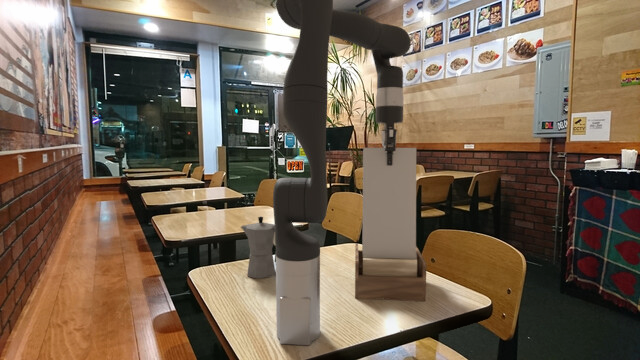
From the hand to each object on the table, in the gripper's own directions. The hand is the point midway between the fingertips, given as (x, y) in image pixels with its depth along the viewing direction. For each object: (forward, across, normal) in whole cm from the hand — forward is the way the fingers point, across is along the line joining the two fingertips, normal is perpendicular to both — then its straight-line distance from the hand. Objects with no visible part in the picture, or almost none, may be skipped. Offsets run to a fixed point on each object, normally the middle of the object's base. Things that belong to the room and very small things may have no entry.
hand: (388, 166), depth 101 cm
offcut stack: (+34, -8, 0) cm, 35 cm away
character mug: (+34, +14, +33) cm, 49 cm away
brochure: (+25, -4, 0) cm, 25 cm away
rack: (+34, -3, 0) cm, 34 cm away
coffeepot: (+34, +4, +37) cm, 50 cm away
